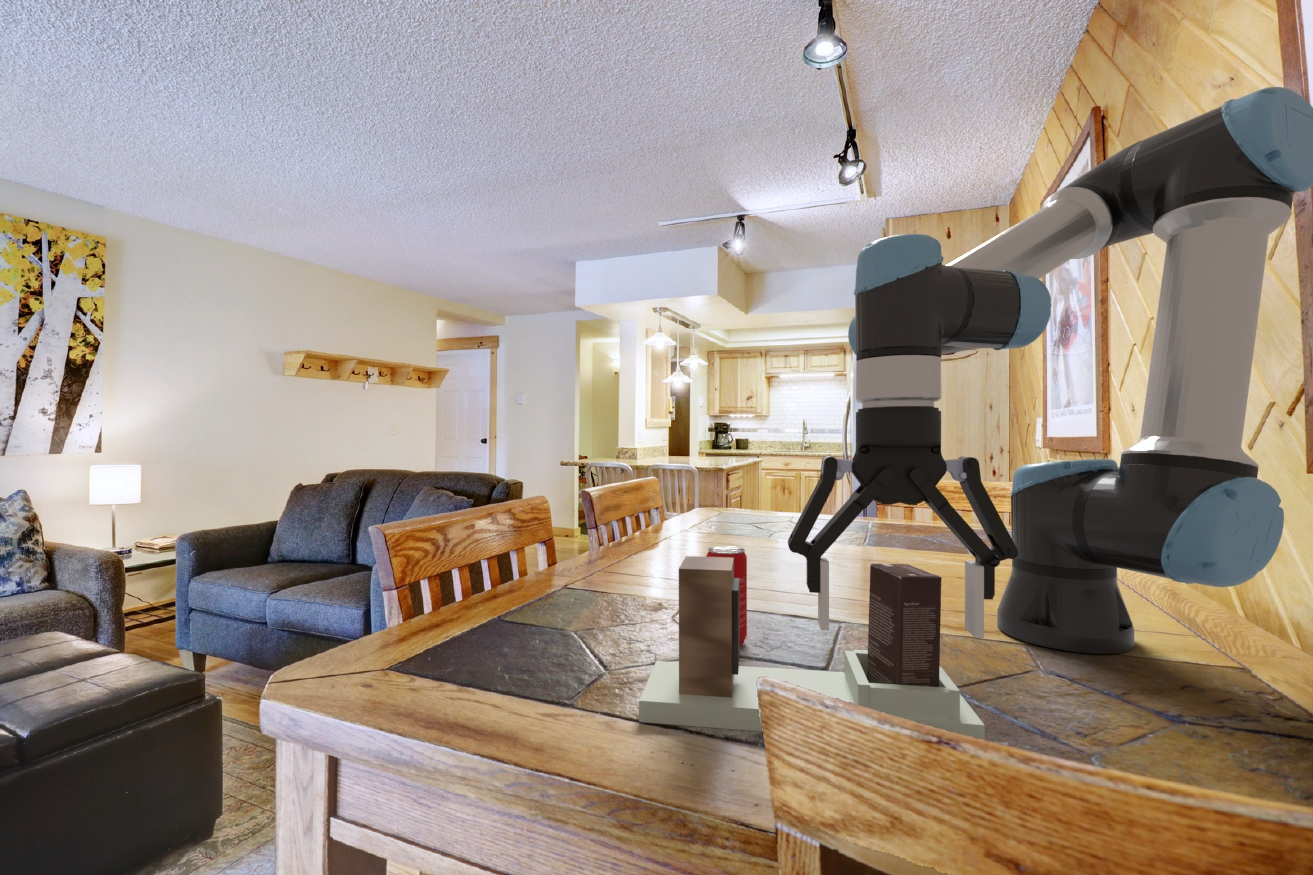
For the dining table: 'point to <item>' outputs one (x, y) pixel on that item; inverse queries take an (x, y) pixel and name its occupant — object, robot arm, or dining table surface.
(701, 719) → the pale green holder tray
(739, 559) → the beverage can
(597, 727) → the dining table surface
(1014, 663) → the dining table surface
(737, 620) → the brown tall rectangular block
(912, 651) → the box
